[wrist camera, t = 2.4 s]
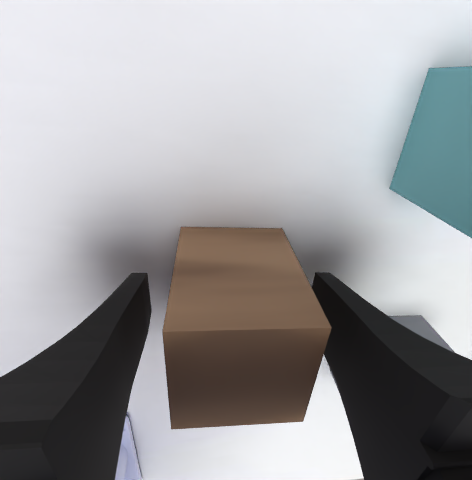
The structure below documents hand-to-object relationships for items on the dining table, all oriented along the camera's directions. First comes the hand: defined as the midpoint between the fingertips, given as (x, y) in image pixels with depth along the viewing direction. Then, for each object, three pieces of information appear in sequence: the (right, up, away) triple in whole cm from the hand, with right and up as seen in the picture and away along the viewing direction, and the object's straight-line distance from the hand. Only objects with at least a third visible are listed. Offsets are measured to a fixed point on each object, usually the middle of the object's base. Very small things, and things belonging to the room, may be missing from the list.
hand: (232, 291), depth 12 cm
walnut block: (0, +1, +2) cm, 2 cm away
